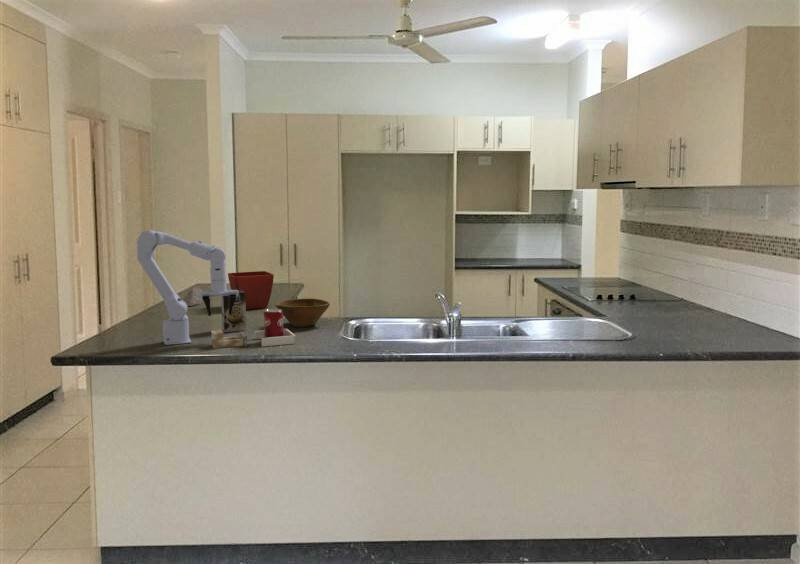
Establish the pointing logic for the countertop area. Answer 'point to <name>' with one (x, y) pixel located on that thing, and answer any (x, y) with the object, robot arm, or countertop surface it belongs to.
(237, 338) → the tan boxy piece
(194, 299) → the pumice stone
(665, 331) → the countertop surface
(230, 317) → the coffee box
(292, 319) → the bowl
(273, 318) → the soda can
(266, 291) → the plant pot
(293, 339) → the white tray
